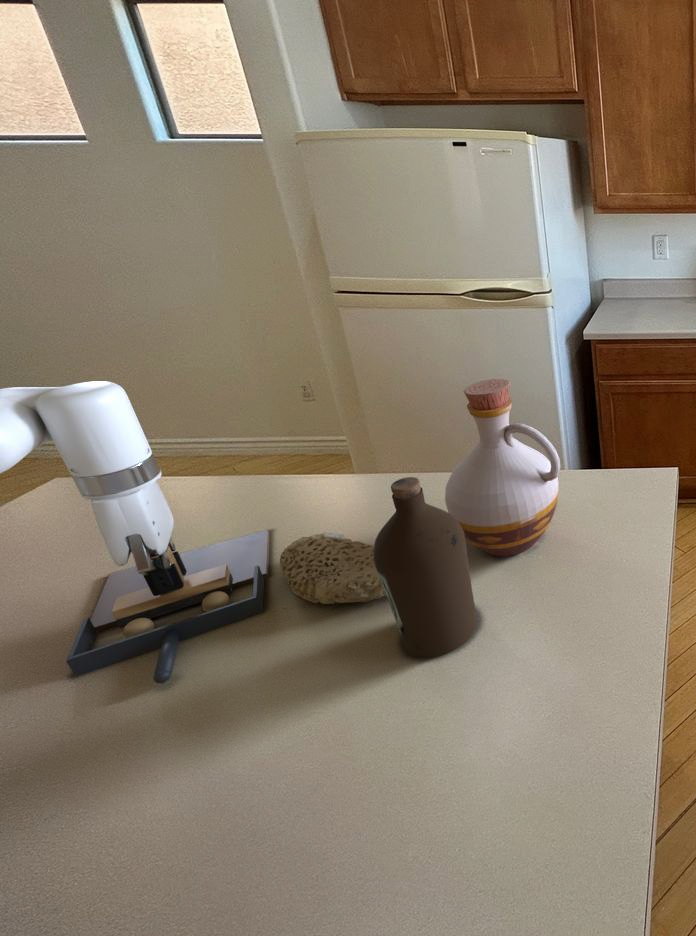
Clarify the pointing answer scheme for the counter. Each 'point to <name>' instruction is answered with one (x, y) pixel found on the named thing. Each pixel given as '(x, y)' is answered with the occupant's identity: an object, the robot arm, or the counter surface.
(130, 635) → the ball
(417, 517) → the olive oil
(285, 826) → the counter surface
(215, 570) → the brush
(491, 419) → the jug
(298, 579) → the sponge
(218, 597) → the ball
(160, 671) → the dustpan
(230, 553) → the board
